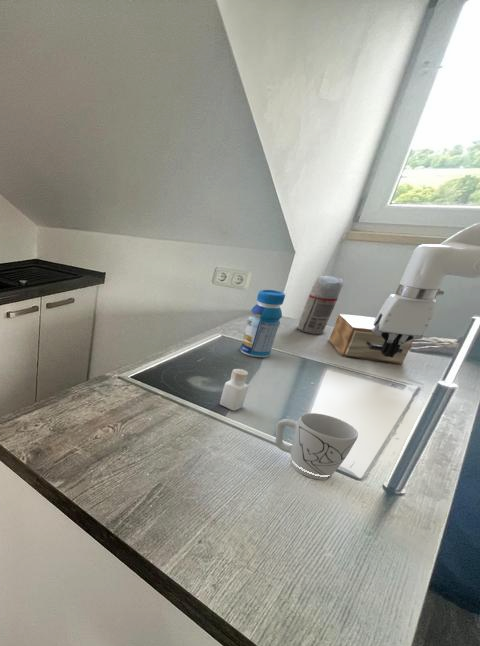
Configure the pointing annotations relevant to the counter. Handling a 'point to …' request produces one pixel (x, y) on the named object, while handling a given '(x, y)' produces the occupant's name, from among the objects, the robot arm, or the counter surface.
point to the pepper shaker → (235, 390)
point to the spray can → (320, 304)
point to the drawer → (374, 347)
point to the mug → (317, 443)
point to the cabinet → (351, 332)
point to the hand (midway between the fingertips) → (386, 355)
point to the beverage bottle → (263, 324)
